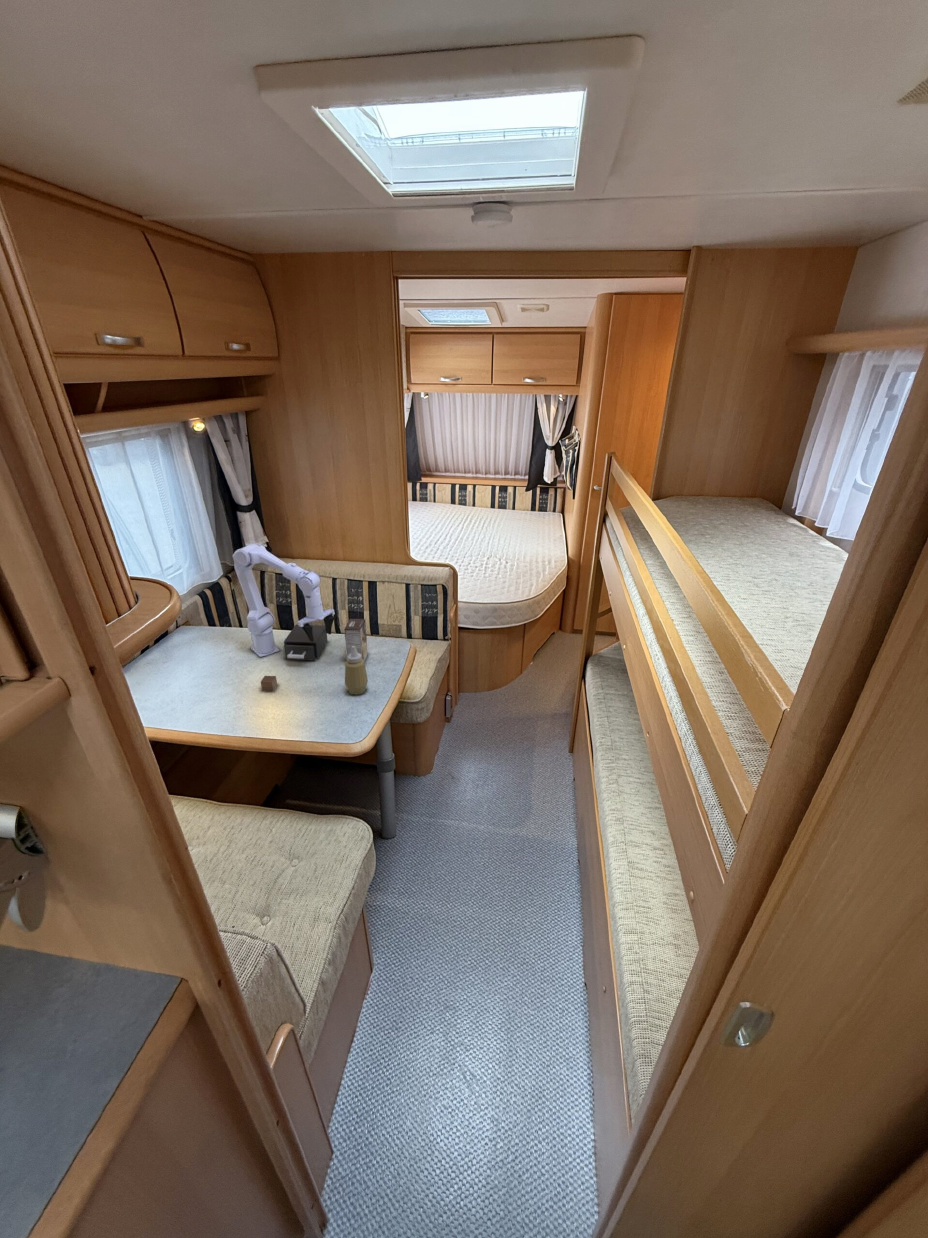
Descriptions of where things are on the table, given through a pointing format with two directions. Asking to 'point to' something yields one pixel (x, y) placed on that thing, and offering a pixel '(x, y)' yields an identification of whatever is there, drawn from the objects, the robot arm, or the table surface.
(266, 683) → the block
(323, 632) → the dark grey drawer box
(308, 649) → the drawer
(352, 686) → the squeeze bottle
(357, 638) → the coffee box
